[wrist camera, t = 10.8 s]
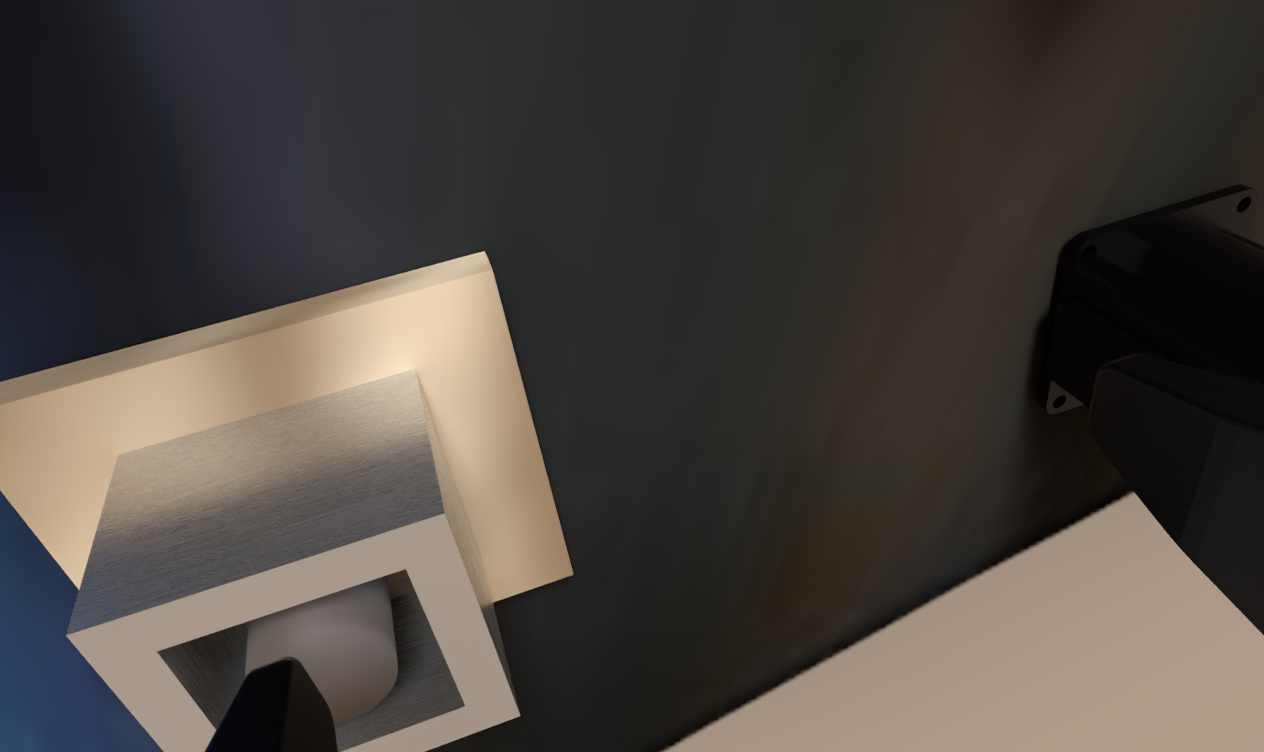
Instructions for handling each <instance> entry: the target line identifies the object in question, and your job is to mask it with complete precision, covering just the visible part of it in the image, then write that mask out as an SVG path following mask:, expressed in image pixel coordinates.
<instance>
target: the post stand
mask: <svg viewBox="0 0 1264 752" xmlns="http://www.w3.org/2000/svg"><path fill="white" fill-rule="evenodd" d="M413 369H415V370H416V373H417V376H418V379H419V382H420V384H421V387H422V390H423V393H424V396H425V399H426V401H427V404H428V407H429V410H430V413H431V416H432V419H433V421H434V424H435V427H436V430H437V433H438V436H439V438H440V441H441V444H442V447H443V450H444V453H445V455H446V458H447V461H448V464H449V467H450V470H451V472H452V475H453V478H454V481H455V484H456V487H457V489H458V492H459V495H460V498H461V501H462V504H463V506H464V509H465V512H466V515H467V518H468V521H469V523H470V526H471V529H472V532H473V535H474V538H475V540H476V543H477V546H478V549H479V552H480V555H481V557H482V560H483V565H484V569H485V573H486V577H487V581H488V585H489V589H490V593H491V597H492V601H493V602H496V601H499V600H502V599H505V598H507V597H510V596H513V595H516V594H519V593H522V592H525V591H528V590H530V589H533V588H536V587H539V586H542V585H545V584H548V583H551V582H554V581H556V580H559V579H562V578H565V577H568V576H571V575H574V574H573V571H572V567H571V563H570V559H569V556H568V552H567V548H566V544H565V541H564V537H563V533H562V529H561V526H560V522H559V518H558V514H557V511H556V507H555V503H554V499H553V495H552V492H551V488H550V484H549V480H548V477H547V473H546V469H545V465H544V462H543V458H542V454H541V450H540V447H539V443H538V439H537V435H536V432H535V428H534V424H533V420H532V417H531V413H530V409H529V405H528V402H527V398H526V394H525V390H524V386H523V383H522V379H521V375H520V371H519V368H518V364H517V360H516V356H515V353H514V349H513V345H512V341H511V338H510V334H509V330H508V326H507V323H506V319H505V315H504V311H503V308H502V304H501V300H500V296H499V293H498V289H497V285H496V281H495V277H494V274H493V270H492V268H491V265H490V263H489V260H488V258H487V256H486V253H485V251H483V252H479V253H475V254H472V255H468V256H464V257H461V258H457V259H453V260H450V261H446V262H442V263H438V264H435V265H431V266H427V267H424V268H420V269H416V270H413V271H409V272H405V273H401V274H398V275H394V276H390V277H387V278H383V279H379V280H376V281H372V282H368V283H364V284H361V285H357V286H353V287H350V288H346V289H342V290H339V291H335V292H331V293H328V294H324V295H320V296H316V297H313V298H309V299H305V300H302V301H298V302H294V303H291V304H287V305H283V306H279V307H276V308H272V309H268V310H265V311H261V312H257V313H254V314H250V315H246V316H242V317H239V318H235V319H231V320H228V321H224V322H220V323H217V324H213V325H209V326H206V327H202V328H198V329H194V330H191V331H187V332H183V333H180V334H176V335H172V336H169V337H165V338H161V339H157V340H154V341H150V342H146V343H143V344H139V345H135V346H132V347H128V348H124V349H120V350H117V351H113V352H109V353H106V354H102V355H98V356H95V357H91V358H87V359H84V360H80V361H76V362H72V363H69V364H65V365H61V366H58V367H54V368H50V369H47V370H43V371H39V372H35V373H32V374H28V375H24V376H21V377H17V378H13V379H10V380H6V381H2V382H0V491H1V492H2V493H3V494H4V496H5V497H6V498H7V499H8V501H9V502H10V503H11V505H12V506H13V507H14V508H15V510H16V511H17V512H18V513H19V515H20V516H21V517H22V518H23V520H24V521H25V522H26V523H27V525H28V526H29V527H30V529H31V530H32V531H33V532H34V534H35V535H36V536H37V537H38V539H39V540H40V541H41V542H42V544H43V545H44V546H45V547H46V549H47V550H48V551H49V553H50V554H51V555H52V556H53V558H54V559H55V560H56V561H57V563H58V564H59V565H60V566H61V568H62V569H63V570H64V571H65V573H66V574H67V575H68V577H69V578H70V579H71V580H72V582H73V583H74V584H75V585H76V587H77V588H78V589H80V586H81V582H82V579H83V575H84V572H85V568H86V565H87V561H88V558H89V554H90V551H91V547H92V544H93V540H94V537H95V533H96V530H97V526H98V523H99V519H100V516H101V512H102V509H103V506H104V502H105V499H106V495H107V492H108V488H109V485H110V481H111V478H112V474H113V471H114V467H115V464H116V460H117V457H118V455H120V454H123V453H127V452H130V451H134V450H137V449H141V448H144V447H147V446H151V445H154V444H158V443H161V442H165V441H168V440H172V439H175V438H179V437H182V436H185V435H189V434H192V433H196V432H199V431H203V430H206V429H210V428H213V427H216V426H220V425H223V424H227V423H230V422H234V421H237V420H241V419H244V418H247V417H251V416H254V415H258V414H261V413H265V412H268V411H272V410H275V409H278V408H282V407H285V406H289V405H292V404H296V403H299V402H303V401H306V400H310V399H313V398H316V397H320V396H323V395H327V394H330V393H334V392H337V391H341V390H344V389H347V388H351V387H354V386H358V385H361V384H365V383H368V382H372V381H375V380H378V379H382V378H385V377H389V376H392V375H396V374H399V373H403V372H406V371H409V370H413ZM286 656H293V657H295V658H297V659H298V660H299V661H300V662H301V663H302V665H303V666H304V668H305V669H306V671H307V672H308V674H309V675H310V677H311V679H312V680H313V682H314V683H315V685H316V686H317V688H318V689H319V691H320V692H321V694H322V695H323V697H324V698H325V700H326V702H327V703H328V706H329V708H330V711H331V714H332V717H333V721H334V725H335V724H339V723H342V722H346V721H349V720H351V719H353V718H356V717H358V716H360V715H362V714H364V713H366V712H367V711H369V710H370V709H372V708H373V707H375V706H376V705H377V704H379V703H380V702H381V701H382V700H383V699H384V698H385V697H386V696H387V694H388V693H389V692H390V690H391V689H392V687H393V686H394V683H395V681H396V678H397V674H398V662H397V653H396V644H395V636H394V627H393V618H392V609H391V600H390V592H389V583H388V575H386V576H383V577H380V578H377V579H374V580H371V581H368V582H365V583H362V584H359V585H356V586H353V587H350V588H347V589H344V590H341V591H338V592H335V593H332V594H329V595H326V596H323V597H320V598H317V599H314V600H311V601H308V602H305V603H302V604H299V605H296V606H293V607H290V608H287V609H284V610H281V611H278V612H275V613H272V614H269V615H266V616H263V617H260V618H257V619H254V620H251V621H249V622H248V637H247V652H246V668H245V677H246V675H247V674H248V673H249V672H250V671H251V670H252V669H254V668H256V667H258V666H261V665H264V664H267V663H269V662H272V661H275V660H278V659H281V658H283V657H286Z"/></svg>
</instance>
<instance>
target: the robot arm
mask: <svg viewBox="0 0 1264 752" xmlns="http://www.w3.org/2000/svg"><path fill="white" fill-rule="evenodd" d="M1257 200H1258V193H1257V191H1256V190H1254V189H1252V188H1250V187H1247V186H1245V185H1242V184H1240V185H1235V186H1231V187H1228V188H1225V189H1222V190H1218V191H1215V192H1212V193H1208V194H1205V195H1202V196H1199V197H1195V198H1192V199H1189V200H1186V201H1182V202H1179V203H1176V204H1172V205H1169V206H1166V207H1163V208H1159V209H1156V210H1153V211H1150V212H1146V213H1143V214H1140V215H1137V216H1133V217H1130V218H1127V219H1123V220H1120V221H1117V222H1114V223H1110V224H1107V225H1104V226H1101V227H1097V228H1094V229H1091V230H1087V231H1084V232H1082V233H1079V234H1077V235H1076V236H1075V237H1074V238H1073V239H1072V240H1071V241H1070V242H1069V244H1068V245H1067V248H1066V250H1065V254H1064V260H1063V265H1062V271H1061V276H1060V282H1059V287H1058V293H1057V298H1056V304H1055V309H1054V315H1053V320H1052V326H1051V331H1050V337H1049V342H1048V347H1047V353H1046V358H1045V364H1044V369H1043V375H1042V380H1041V386H1040V391H1039V397H1038V404H1039V406H1040V407H1041V408H1042V409H1044V410H1045V411H1046V412H1048V413H1049V414H1058V413H1060V412H1063V411H1066V410H1069V409H1072V408H1075V407H1078V406H1081V405H1083V404H1084V405H1085V406H1087V407H1088V408H1089V414H1088V421H1087V422H1088V428H1089V432H1090V434H1091V436H1092V438H1093V440H1094V441H1095V443H1096V444H1097V446H1098V447H1099V448H1100V449H1101V451H1102V452H1103V453H1104V454H1105V456H1106V457H1107V458H1108V459H1109V461H1110V462H1111V463H1112V464H1113V466H1114V467H1115V468H1116V469H1117V471H1118V472H1119V473H1120V474H1121V476H1122V477H1123V478H1124V479H1125V481H1126V482H1127V483H1128V485H1129V486H1130V487H1131V488H1132V490H1133V491H1134V492H1135V493H1136V495H1137V496H1138V497H1139V498H1140V500H1141V501H1142V502H1143V503H1144V505H1145V506H1146V507H1147V508H1148V510H1149V511H1150V512H1151V513H1152V515H1153V516H1154V517H1155V518H1156V520H1157V521H1158V522H1159V523H1160V524H1161V526H1162V527H1163V528H1164V530H1165V531H1166V532H1167V533H1168V534H1169V535H1170V537H1171V538H1172V539H1173V540H1174V542H1175V543H1176V544H1177V545H1178V546H1179V547H1180V548H1181V550H1182V551H1183V552H1184V553H1185V554H1186V555H1187V556H1188V557H1189V558H1190V559H1191V560H1192V562H1193V563H1194V564H1195V565H1196V566H1197V567H1198V568H1199V569H1200V570H1201V571H1202V572H1203V573H1204V574H1205V575H1206V576H1207V577H1208V578H1209V579H1210V580H1211V581H1212V582H1213V583H1214V584H1215V585H1216V586H1217V587H1218V588H1219V589H1220V590H1221V591H1222V593H1224V595H1225V596H1226V597H1227V598H1228V599H1229V600H1230V601H1231V602H1232V603H1233V604H1234V605H1235V606H1236V607H1237V608H1238V609H1239V610H1240V611H1241V612H1242V613H1243V614H1244V615H1245V616H1246V617H1247V618H1248V620H1249V621H1251V623H1252V624H1253V625H1254V626H1255V627H1256V628H1257V629H1258V630H1259V631H1260V632H1261V633H1262V634H1263V635H1264V246H1262V245H1260V244H1258V243H1256V242H1253V241H1251V240H1249V239H1247V238H1246V235H1247V232H1248V229H1249V226H1250V222H1251V219H1252V216H1253V213H1254V210H1255V207H1256V204H1257ZM205 752H338V747H337V740H336V733H335V727H334V721H333V717H332V714H331V711H330V708H329V706H328V703H327V702H326V700H325V698H324V697H323V695H322V694H321V692H320V691H319V689H318V688H317V686H316V685H315V683H314V682H313V680H312V679H311V677H310V675H309V674H308V672H307V671H306V669H305V668H304V666H303V665H302V663H301V662H300V661H299V660H298V659H297V658H295V657H293V656H286V657H283V658H281V659H278V660H275V661H272V662H269V663H267V664H264V665H261V666H258V667H256V668H254V669H252V670H251V671H250V672H249V673H248V674H247V675H246V677H245V678H244V680H243V682H242V684H241V686H240V687H239V689H238V691H237V693H236V695H235V697H234V698H233V700H232V702H231V704H230V706H229V708H228V709H227V711H226V713H225V715H224V717H223V719H222V720H221V722H220V724H219V726H218V728H217V730H216V731H215V733H214V735H213V737H212V739H211V741H210V742H209V744H208V746H207V748H206V750H205Z"/></svg>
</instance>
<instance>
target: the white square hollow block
mask: <svg viewBox="0 0 1264 752" xmlns="http://www.w3.org/2000/svg"><path fill="white" fill-rule="evenodd" d="M386 575H388V583H389V592H390V600H391V609H392V618H393V627H394V636H395V644H396V653H397V662H398V674H397V678H396V681H395V683H394V686H393V687H392V689H391V690H390V692H389V693H388V694H387V696H386V697H385V698H384V699H383V700H382V701H381V702H380V703H379V704H377V705H376V706H375V707H373V708H372V709H370V710H369V711H367V712H366V713H364V714H362V715H360V716H358V717H356V718H353V719H351V720H349V721H346V722H342V723H339V724H335V725H334V727H335V733H336V740H337V747H338V752H425V751H428V750H430V749H433V748H436V747H438V746H441V745H444V744H446V743H449V742H452V741H454V740H457V739H460V738H463V737H465V736H468V735H471V734H473V733H476V732H479V731H481V730H484V729H487V728H489V727H492V726H495V725H497V724H500V723H503V722H505V721H508V720H511V719H514V718H516V717H519V716H520V712H519V708H518V704H517V700H516V696H515V692H514V688H513V683H512V679H511V675H510V671H509V667H508V663H507V659H506V655H505V651H504V647H503V642H502V638H501V634H500V630H499V626H498V622H497V618H496V614H495V610H494V606H493V601H492V597H491V593H490V589H489V585H488V581H487V577H486V573H485V569H484V565H483V560H482V557H481V555H480V552H479V549H478V546H477V543H476V540H475V538H474V535H473V532H472V529H471V526H470V523H469V521H468V518H467V515H466V512H465V509H464V506H463V504H462V501H461V498H460V495H459V492H458V489H457V487H456V484H455V481H454V478H453V475H452V472H451V470H450V467H449V464H448V461H447V458H446V455H445V453H444V450H443V447H442V444H441V441H440V438H439V436H438V433H437V430H436V427H435V424H434V421H433V419H432V416H431V413H430V410H429V407H428V404H427V401H426V399H425V396H424V393H423V390H422V387H421V384H420V382H419V379H418V376H417V373H416V370H415V369H413V370H409V371H406V372H403V373H399V374H396V375H392V376H389V377H385V378H382V379H378V380H375V381H372V382H368V383H365V384H361V385H358V386H354V387H351V388H347V389H344V390H341V391H337V392H334V393H330V394H327V395H323V396H320V397H316V398H313V399H310V400H306V401H303V402H299V403H296V404H292V405H289V406H285V407H282V408H278V409H275V410H272V411H268V412H265V413H261V414H258V415H254V416H251V417H247V418H244V419H241V420H237V421H234V422H230V423H227V424H223V425H220V426H216V427H213V428H210V429H206V430H203V431H199V432H196V433H192V434H189V435H185V436H182V437H179V438H175V439H172V440H168V441H165V442H161V443H158V444H154V445H151V446H147V447H144V448H141V449H137V450H134V451H130V452H127V453H123V454H120V455H118V457H117V460H116V464H115V467H114V471H113V474H112V478H111V481H110V485H109V488H108V492H107V495H106V499H105V502H104V506H103V509H102V512H101V516H100V519H99V523H98V526H97V530H96V533H95V537H94V540H93V544H92V547H91V551H90V554H89V558H88V561H87V565H86V568H85V572H84V575H83V579H82V582H81V586H80V589H79V593H78V596H77V600H76V603H75V606H74V610H73V613H72V617H71V620H70V624H69V627H68V631H67V634H66V636H67V637H68V638H69V640H70V641H71V642H72V643H73V644H74V645H75V647H76V648H77V649H78V650H79V651H80V653H81V654H82V655H83V656H84V657H85V659H86V660H87V661H88V662H89V663H90V664H91V666H92V667H93V668H94V669H95V670H96V672H97V673H98V674H99V675H100V676H101V678H102V679H103V680H104V681H105V682H106V683H107V685H108V686H109V687H110V688H111V689H112V691H113V692H114V693H115V694H116V695H117V697H118V698H119V699H120V700H121V701H122V702H123V704H124V705H125V706H126V707H127V708H128V710H129V711H130V712H131V713H132V714H133V716H134V717H135V718H136V719H137V720H138V721H139V723H140V724H141V725H142V726H143V727H144V729H145V730H146V731H147V732H148V733H149V734H150V736H151V737H152V738H153V739H154V740H155V742H156V743H157V744H158V745H159V746H160V748H161V749H162V750H163V751H164V752H205V750H206V748H207V746H208V744H209V742H210V741H211V739H212V737H213V735H214V733H215V731H216V730H217V728H218V726H219V724H220V722H221V720H222V719H223V717H224V715H225V713H226V711H227V709H228V708H229V706H230V704H231V702H232V700H233V698H234V697H235V695H236V693H237V691H238V689H239V687H240V686H241V684H242V682H243V680H244V678H245V668H246V652H247V637H248V622H249V621H251V620H254V619H257V618H260V617H263V616H266V615H269V614H272V613H275V612H278V611H281V610H284V609H287V608H290V607H293V606H296V605H299V604H302V603H305V602H308V601H311V600H314V599H317V598H320V597H323V596H326V595H329V594H332V593H335V592H338V591H341V590H344V589H347V588H350V587H353V586H356V585H359V584H362V583H365V582H368V581H371V580H374V579H377V578H380V577H383V576H386Z"/></svg>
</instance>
